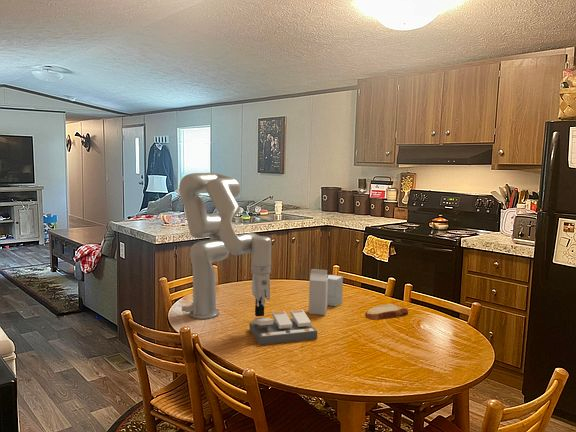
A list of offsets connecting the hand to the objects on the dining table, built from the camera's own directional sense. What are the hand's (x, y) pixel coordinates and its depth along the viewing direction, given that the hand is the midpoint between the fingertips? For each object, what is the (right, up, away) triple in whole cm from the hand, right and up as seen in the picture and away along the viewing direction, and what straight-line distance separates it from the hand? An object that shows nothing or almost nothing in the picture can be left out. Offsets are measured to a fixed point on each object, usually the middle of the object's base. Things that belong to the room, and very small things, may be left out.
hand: (259, 315), depth 187 cm
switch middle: (+9, -1, -1) cm, 9 cm away
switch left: (+2, -1, -4) cm, 4 cm away
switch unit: (+9, -7, -2) cm, 11 cm away
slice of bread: (+54, -5, +24) cm, 60 cm away
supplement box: (+31, -3, +38) cm, 50 cm away
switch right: (+16, -1, +1) cm, 16 cm away
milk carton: (+24, -4, +26) cm, 35 cm away
